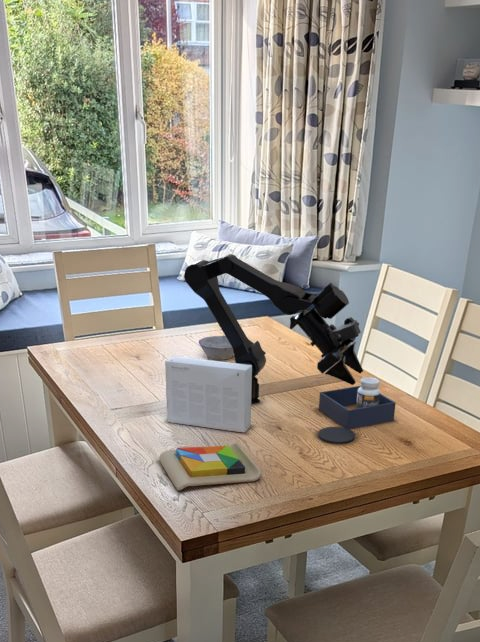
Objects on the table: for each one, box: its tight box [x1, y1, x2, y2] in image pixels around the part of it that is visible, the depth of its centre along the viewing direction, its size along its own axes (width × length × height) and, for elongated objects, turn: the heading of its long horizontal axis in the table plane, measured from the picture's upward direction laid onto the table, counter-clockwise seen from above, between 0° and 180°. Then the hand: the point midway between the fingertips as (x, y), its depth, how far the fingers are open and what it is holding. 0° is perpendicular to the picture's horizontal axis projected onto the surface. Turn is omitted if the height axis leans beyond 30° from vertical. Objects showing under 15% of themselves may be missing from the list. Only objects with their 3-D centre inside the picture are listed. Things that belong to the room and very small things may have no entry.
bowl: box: [198, 334, 234, 361], centre depth 235 cm, size 13×13×5 cm
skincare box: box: [164, 355, 252, 433], centre depth 185 cm, size 21×6×16 cm, turn 71°
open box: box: [318, 385, 397, 430], centre depth 193 cm, size 14×14×5 cm
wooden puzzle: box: [158, 442, 262, 491], centre depth 165 cm, size 18×19×4 cm
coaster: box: [317, 426, 356, 445], centre depth 182 cm, size 9×9×1 cm
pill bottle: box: [355, 376, 381, 409], centre depth 191 cm, size 6×6×10 cm
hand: (358, 377), depth 189 cm, fingers open, 9 cm apart
